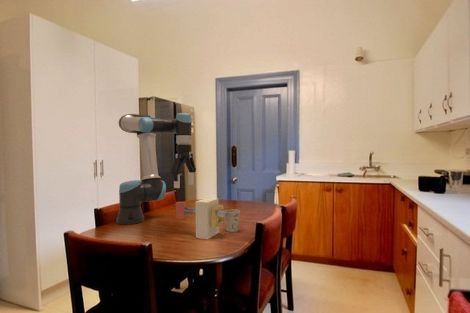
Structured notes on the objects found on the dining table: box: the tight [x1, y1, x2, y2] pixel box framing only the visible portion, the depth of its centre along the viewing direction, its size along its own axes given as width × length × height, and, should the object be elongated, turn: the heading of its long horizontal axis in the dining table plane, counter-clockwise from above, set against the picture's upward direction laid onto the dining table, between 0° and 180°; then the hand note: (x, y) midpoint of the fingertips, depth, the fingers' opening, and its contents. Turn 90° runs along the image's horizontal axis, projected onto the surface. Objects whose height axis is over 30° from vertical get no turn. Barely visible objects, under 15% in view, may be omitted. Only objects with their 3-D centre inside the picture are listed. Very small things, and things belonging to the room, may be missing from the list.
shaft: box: [175, 201, 227, 220], centre depth 143 cm, size 27×3×8 cm, turn 67°
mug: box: [224, 208, 241, 233], centre depth 152 cm, size 8×13×10 cm, turn 27°
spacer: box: [211, 204, 225, 228], centre depth 139 cm, size 2×9×9 cm, turn 157°
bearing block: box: [195, 197, 220, 240], centre depth 141 cm, size 6×12×17 cm, turn 157°
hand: (184, 186), depth 148 cm, fingers open, 13 cm apart
